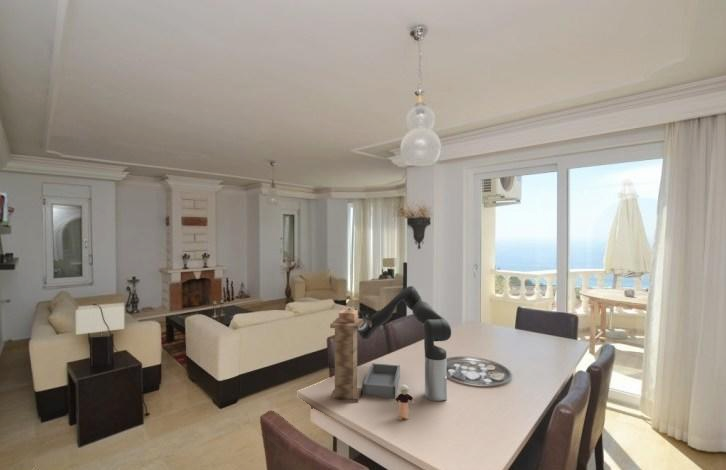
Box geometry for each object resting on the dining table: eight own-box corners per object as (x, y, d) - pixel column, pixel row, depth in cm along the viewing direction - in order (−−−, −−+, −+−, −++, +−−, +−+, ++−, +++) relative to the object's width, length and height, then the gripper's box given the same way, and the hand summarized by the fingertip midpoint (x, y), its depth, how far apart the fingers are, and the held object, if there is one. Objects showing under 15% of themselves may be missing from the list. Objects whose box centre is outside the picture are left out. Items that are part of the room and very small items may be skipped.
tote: (399, 375, 167) (399, 365, 167) (395, 398, 144) (395, 386, 144) (372, 373, 170) (372, 363, 170) (363, 395, 146) (363, 383, 146)
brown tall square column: (363, 389, 152) (363, 318, 152) (357, 402, 140) (357, 325, 140) (337, 387, 154) (337, 317, 154) (330, 399, 143) (330, 324, 143)
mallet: (361, 314, 161) (361, 305, 161) (354, 322, 145) (354, 313, 145) (347, 313, 163) (347, 305, 163) (338, 322, 146) (338, 312, 146)
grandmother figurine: (396, 422, 126) (396, 388, 126) (393, 416, 129) (393, 383, 129) (415, 419, 128) (415, 385, 128) (411, 413, 131) (411, 381, 131)
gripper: (371, 329, 168) (366, 319, 153) (344, 327, 171) (336, 317, 156) (372, 314, 172) (367, 303, 157) (346, 313, 174) (338, 302, 160)
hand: (352, 310), depth 157 cm, fingers closed on mallet, 2 cm apart
